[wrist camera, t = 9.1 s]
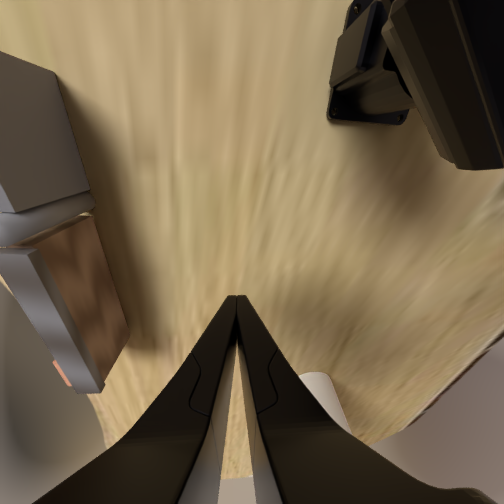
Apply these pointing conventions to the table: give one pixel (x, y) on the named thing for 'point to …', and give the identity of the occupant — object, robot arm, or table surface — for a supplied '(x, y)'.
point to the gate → (69, 299)
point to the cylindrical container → (325, 396)
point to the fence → (36, 156)
